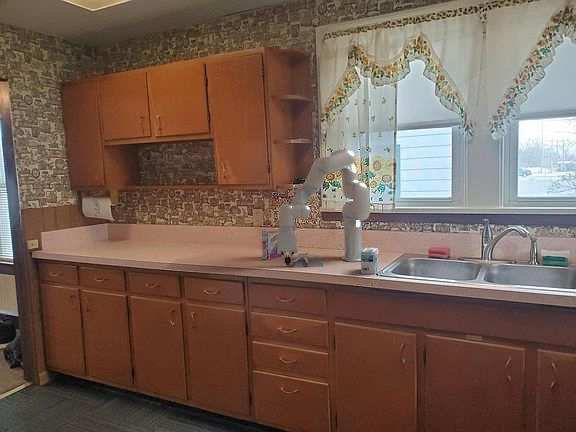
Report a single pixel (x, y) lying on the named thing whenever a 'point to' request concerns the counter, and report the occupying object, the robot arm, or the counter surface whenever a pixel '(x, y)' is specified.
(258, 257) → the counter surface
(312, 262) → the mat
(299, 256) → the lock tab
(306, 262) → the tongs fixed
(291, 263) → the tong arm
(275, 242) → the candy bar box
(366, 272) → the light bulb box
